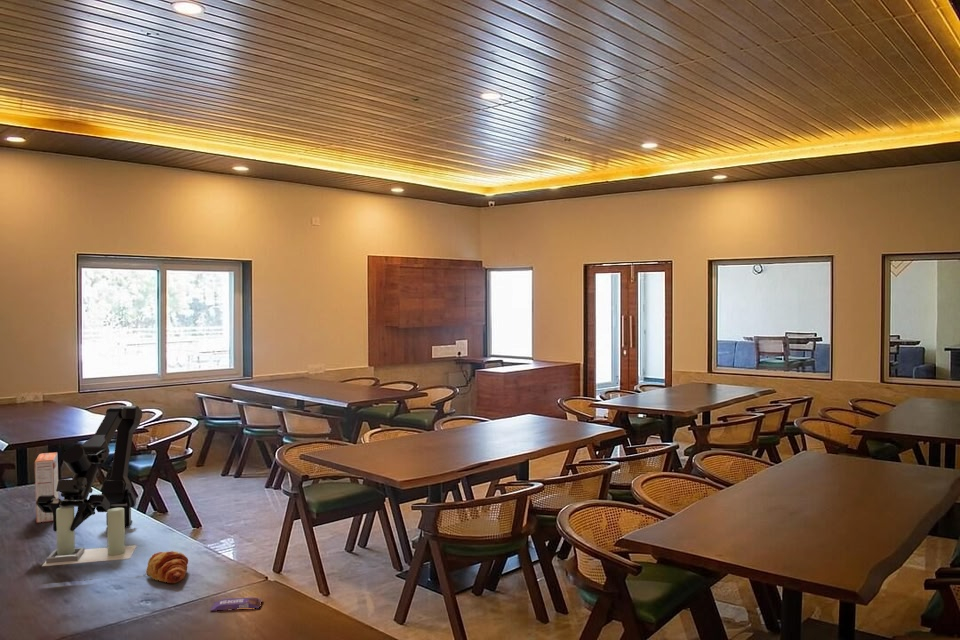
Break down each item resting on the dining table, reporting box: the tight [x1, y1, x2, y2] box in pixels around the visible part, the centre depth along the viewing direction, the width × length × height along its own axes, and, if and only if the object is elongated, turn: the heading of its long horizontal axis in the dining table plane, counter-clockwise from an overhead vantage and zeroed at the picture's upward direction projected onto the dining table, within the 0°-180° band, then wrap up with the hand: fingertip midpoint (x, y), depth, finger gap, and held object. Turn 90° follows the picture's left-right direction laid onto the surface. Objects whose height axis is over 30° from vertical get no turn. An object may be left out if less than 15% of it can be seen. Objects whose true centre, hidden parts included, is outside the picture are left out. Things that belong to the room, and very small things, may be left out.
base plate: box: [41, 544, 138, 567], centre depth 210 cm, size 22×12×2 cm, turn 106°
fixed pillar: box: [106, 508, 126, 556], centre depth 211 cm, size 4×4×12 cm
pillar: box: [56, 506, 76, 555], centre depth 208 cm, size 4×4×12 cm
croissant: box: [145, 550, 189, 584], centre depth 197 cm, size 21×10×8 cm, turn 38°
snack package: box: [209, 596, 262, 612], centre depth 176 cm, size 12×2×5 cm
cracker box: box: [34, 451, 60, 524], centre depth 251 cm, size 14×6×21 cm, turn 25°
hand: (62, 530), depth 206 cm, fingers closed on pillar, 4 cm apart
